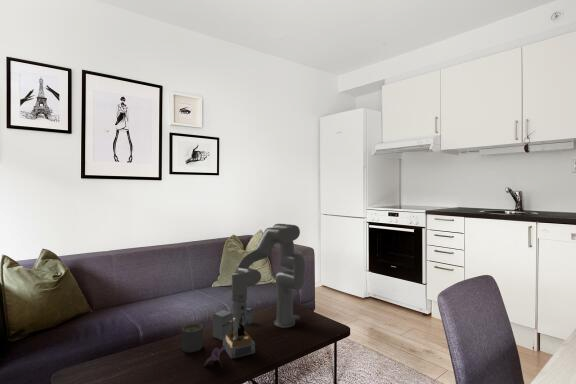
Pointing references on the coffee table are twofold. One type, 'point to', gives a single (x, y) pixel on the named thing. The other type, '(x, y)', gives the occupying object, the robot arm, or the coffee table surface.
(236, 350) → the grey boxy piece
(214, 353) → the lily
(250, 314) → the medicine box
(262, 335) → the coffee table surface
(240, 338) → the spout can
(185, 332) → the coffee mug
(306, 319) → the coffee table surface
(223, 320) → the supplement box
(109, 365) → the coffee table surface
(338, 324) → the coffee table surface
